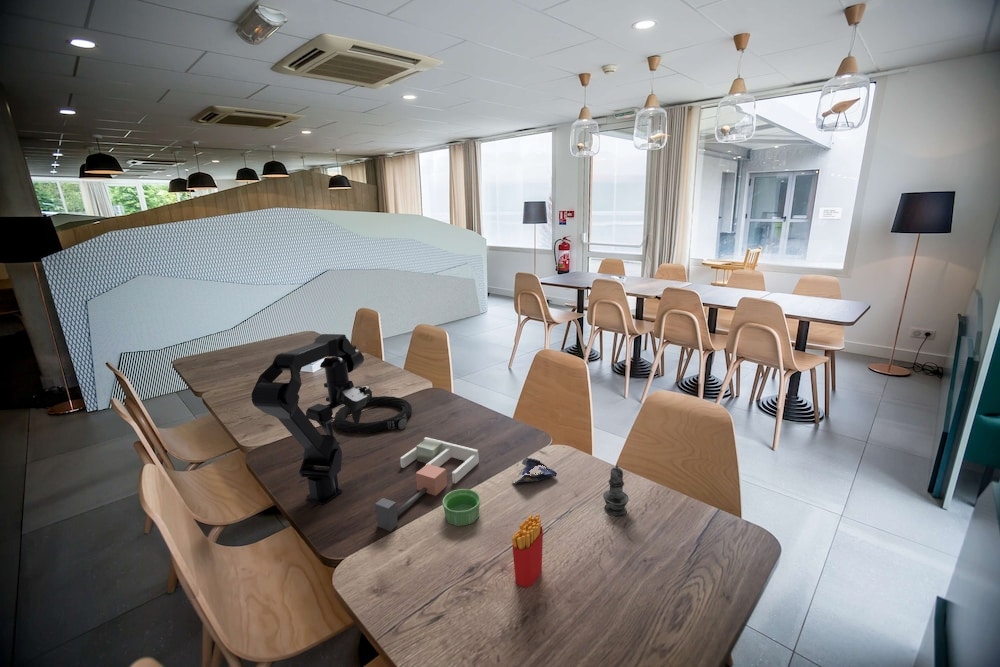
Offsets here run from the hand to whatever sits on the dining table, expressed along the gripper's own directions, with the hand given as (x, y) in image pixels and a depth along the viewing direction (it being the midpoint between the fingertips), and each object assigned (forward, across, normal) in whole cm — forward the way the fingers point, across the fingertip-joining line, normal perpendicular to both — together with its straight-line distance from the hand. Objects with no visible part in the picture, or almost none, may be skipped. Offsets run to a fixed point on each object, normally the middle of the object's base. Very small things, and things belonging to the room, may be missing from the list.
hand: (344, 431), depth 126 cm
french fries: (+12, -12, -63) cm, 65 cm away
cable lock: (+13, +30, +18) cm, 37 cm away
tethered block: (+12, -4, -27) cm, 30 cm away
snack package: (+13, +20, -49) cm, 55 cm away
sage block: (+12, +15, -18) cm, 26 cm away
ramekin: (+12, -3, -41) cm, 43 cm away
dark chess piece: (+12, +16, -73) cm, 75 cm away
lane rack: (+12, +13, -22) cm, 29 cm away
